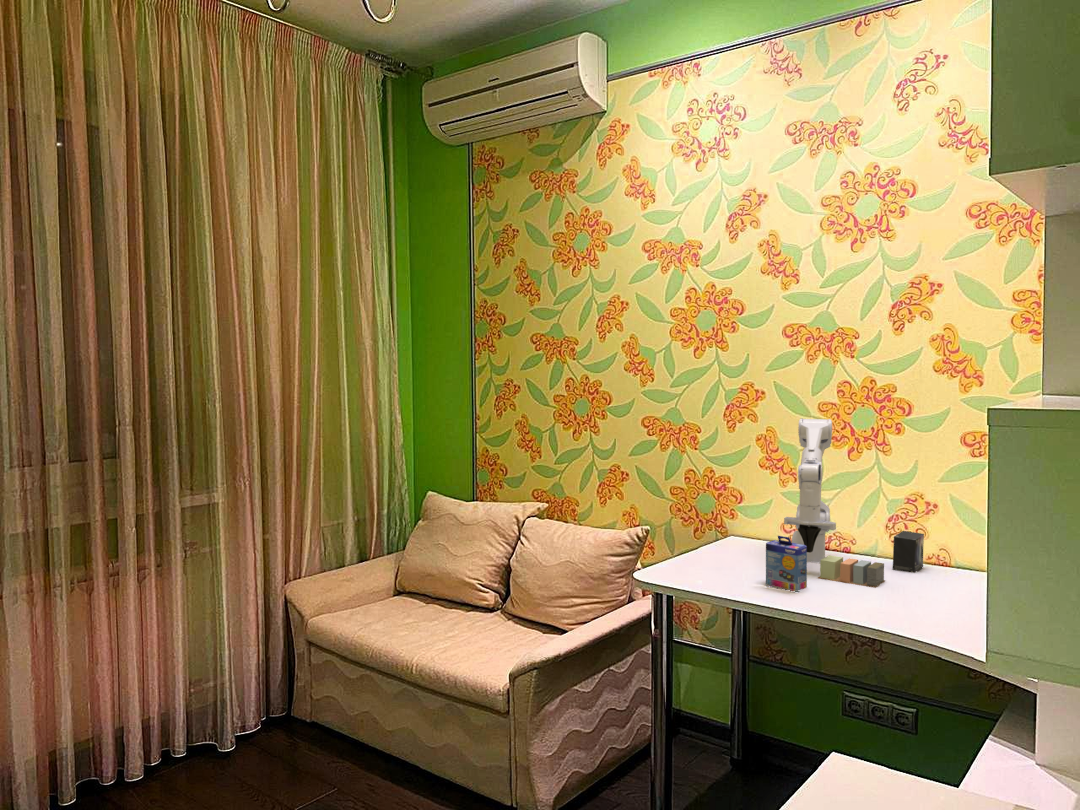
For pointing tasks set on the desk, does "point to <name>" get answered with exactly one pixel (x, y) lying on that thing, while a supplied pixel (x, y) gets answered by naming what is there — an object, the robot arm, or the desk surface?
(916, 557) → the small box
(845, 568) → the terracotta book
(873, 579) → the steel bookend
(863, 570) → the grey-blue block
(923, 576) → the desk surface
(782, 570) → the ink cartridge box
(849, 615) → the desk surface
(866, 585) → the walnut board
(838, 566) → the sage book
